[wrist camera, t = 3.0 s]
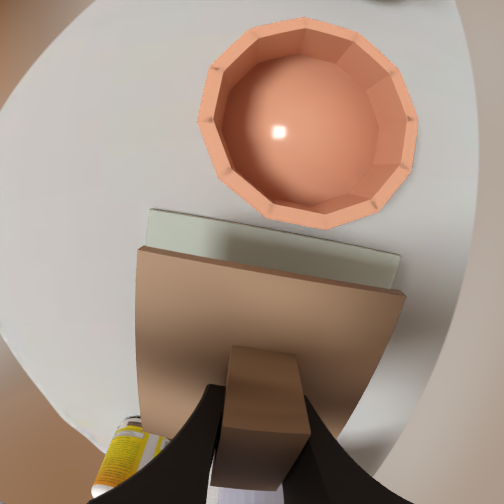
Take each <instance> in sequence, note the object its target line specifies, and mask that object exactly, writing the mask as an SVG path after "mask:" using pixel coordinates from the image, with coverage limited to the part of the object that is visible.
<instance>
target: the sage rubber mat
mask: <svg viewBox="0 0 504 504" xmlns="http://www.w3.org/2000/svg"><path fill="white" fill-rule="evenodd" d="M145 246H149V247H154V248H159V249H165V250H170V251H175V252H180V253H186V254H191V255H196V256H202V257H207V258H213V259H218V260H224V261H229V262H235V263H240V264H246V265H251V266H257V267H263V268H268V269H274V270H280V271H285V272H291V273H297V274H303V275H308V276H314V277H320V278H326V279H332V280H338V281H344V282H350V283H356V284H362V285H368V286H374V287H381V288H387V289H391V287H392V284H393V281H394V278H395V275H396V272H397V269H398V265H399V262H400V259H401V256H399V255H398V254H393V253H388V252H384V251H379V250H374V249H370V248H365V247H360V246H355V245H350V244H345V243H340V242H336V241H331V240H326V239H320V238H315V237H310V236H305V235H300V234H295V233H289V232H284V231H279V230H273V229H268V228H263V227H257V226H252V225H246V224H240V223H235V222H229V221H223V220H217V219H212V218H206V217H200V216H194V215H188V214H181V213H175V212H169V211H163V210H156V209H149V213H148V223H147V233H146V245H145Z"/></svg>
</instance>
